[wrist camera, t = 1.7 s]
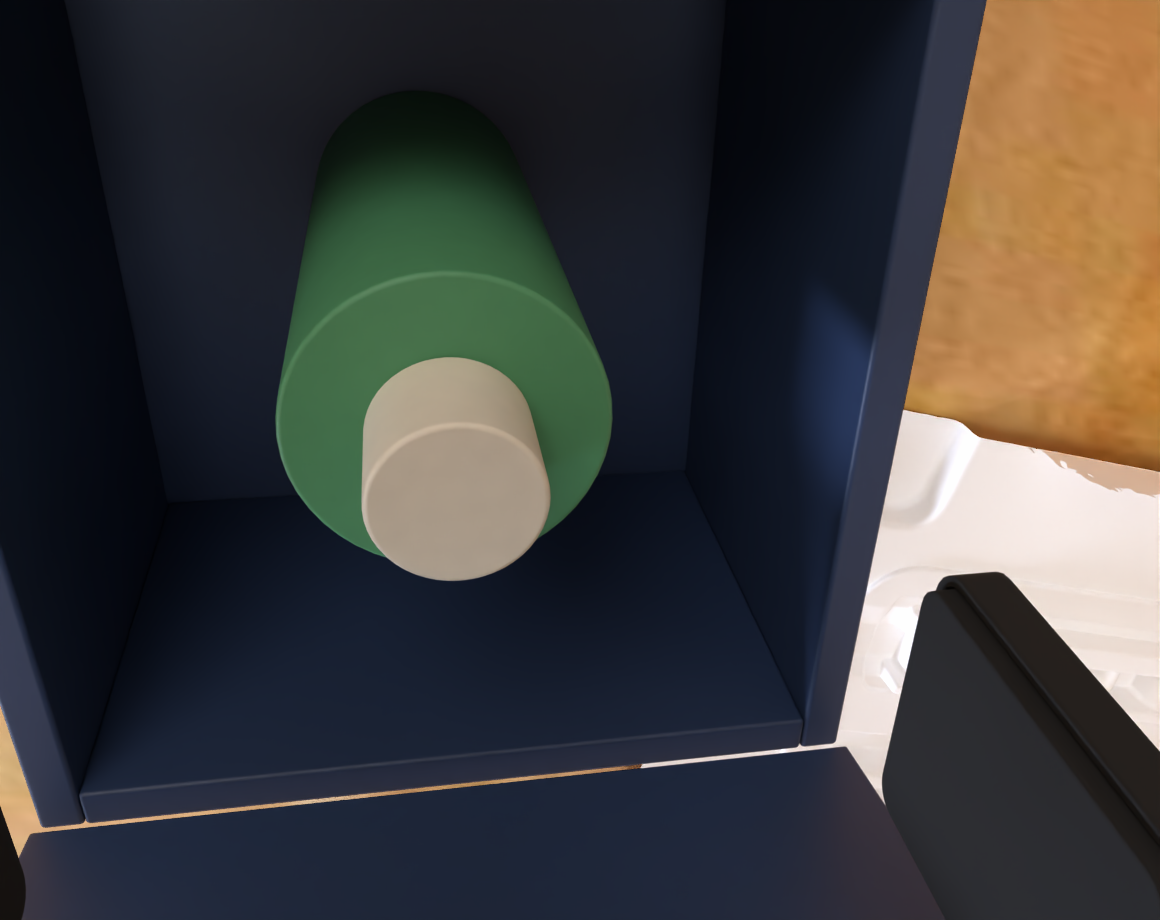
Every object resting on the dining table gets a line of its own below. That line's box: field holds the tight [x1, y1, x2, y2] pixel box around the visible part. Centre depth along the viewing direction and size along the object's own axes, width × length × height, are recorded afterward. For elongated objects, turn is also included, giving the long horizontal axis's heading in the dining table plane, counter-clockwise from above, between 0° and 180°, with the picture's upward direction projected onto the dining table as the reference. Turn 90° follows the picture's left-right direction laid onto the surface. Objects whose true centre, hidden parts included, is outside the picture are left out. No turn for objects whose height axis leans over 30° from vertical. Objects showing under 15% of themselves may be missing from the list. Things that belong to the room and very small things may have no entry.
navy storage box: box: [0, 0, 987, 828], centre depth 21 cm, size 16×16×11 cm
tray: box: [641, 410, 1160, 804], centre depth 37 cm, size 20×28×4 cm
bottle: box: [275, 91, 613, 581], centre depth 19 cm, size 5×5×14 cm
